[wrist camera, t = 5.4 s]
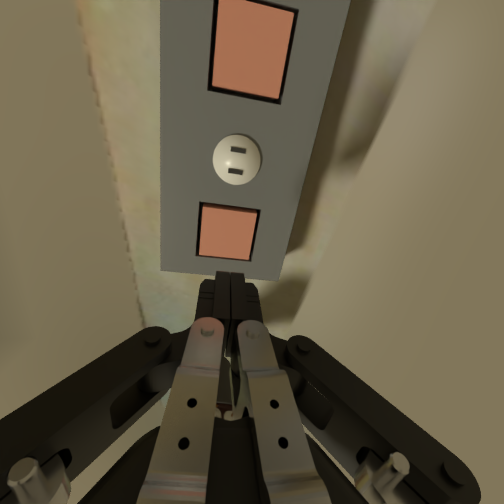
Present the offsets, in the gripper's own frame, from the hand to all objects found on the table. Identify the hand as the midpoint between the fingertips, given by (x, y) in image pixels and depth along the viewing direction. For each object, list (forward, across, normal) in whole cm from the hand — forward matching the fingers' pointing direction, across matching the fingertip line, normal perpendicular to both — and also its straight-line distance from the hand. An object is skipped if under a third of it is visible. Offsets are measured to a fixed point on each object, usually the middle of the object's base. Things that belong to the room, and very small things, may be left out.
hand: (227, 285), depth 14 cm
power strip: (+10, 0, -8) cm, 13 cm away
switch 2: (+9, 0, 0) cm, 9 cm away
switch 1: (+9, 0, -11) cm, 15 cm away
